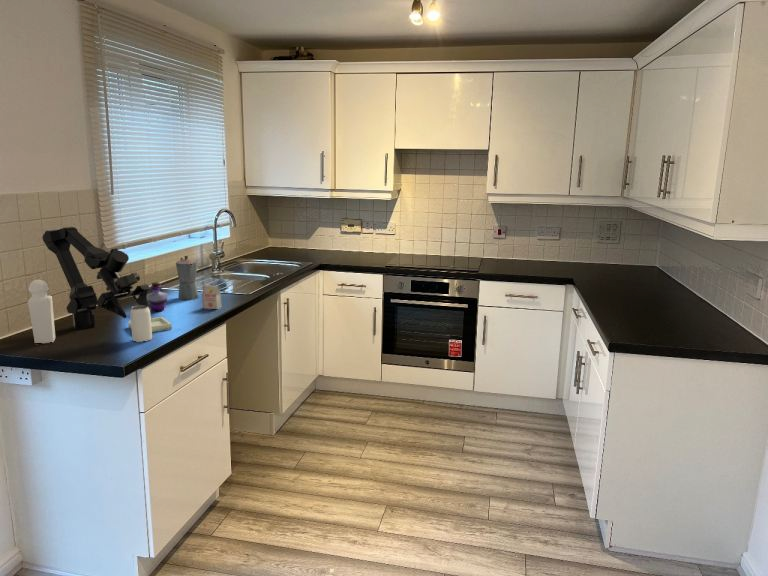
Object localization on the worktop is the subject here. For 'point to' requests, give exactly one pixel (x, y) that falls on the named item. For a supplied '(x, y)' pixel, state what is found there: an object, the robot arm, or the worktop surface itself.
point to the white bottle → (41, 312)
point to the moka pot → (187, 279)
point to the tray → (158, 324)
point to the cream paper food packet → (211, 297)
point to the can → (141, 323)
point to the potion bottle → (157, 298)
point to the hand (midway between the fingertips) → (137, 314)
